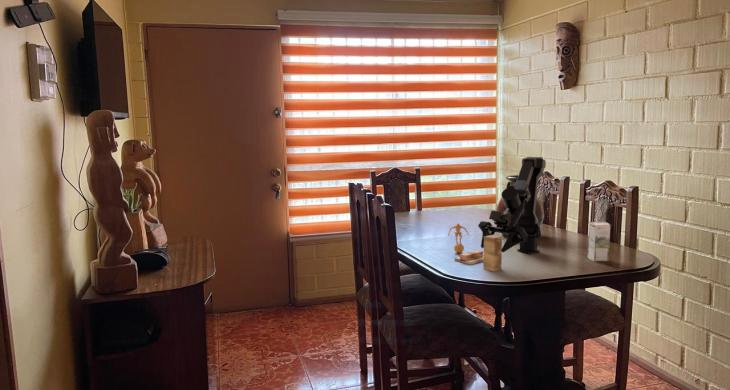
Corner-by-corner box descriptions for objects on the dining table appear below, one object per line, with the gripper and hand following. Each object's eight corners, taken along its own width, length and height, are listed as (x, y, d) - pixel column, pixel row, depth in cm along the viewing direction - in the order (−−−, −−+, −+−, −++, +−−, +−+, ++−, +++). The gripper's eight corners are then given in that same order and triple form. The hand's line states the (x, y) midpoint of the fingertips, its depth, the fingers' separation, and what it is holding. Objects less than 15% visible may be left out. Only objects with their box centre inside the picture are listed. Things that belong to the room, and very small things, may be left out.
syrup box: (601, 258, 209) (603, 221, 207) (609, 261, 203) (610, 223, 201) (587, 258, 209) (588, 221, 207) (594, 262, 203) (595, 224, 201)
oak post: (491, 266, 199) (491, 234, 198) (501, 269, 196) (501, 236, 194) (483, 268, 196) (483, 236, 195) (493, 271, 193) (493, 238, 191)
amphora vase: (553, 238, 246) (555, 177, 243) (514, 242, 238) (515, 179, 235) (523, 230, 266) (524, 173, 262) (486, 233, 258) (487, 175, 255)
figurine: (449, 254, 219) (449, 225, 218) (447, 250, 225) (447, 222, 224) (470, 253, 219) (470, 224, 218) (467, 250, 225) (467, 222, 224)
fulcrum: (475, 255, 216) (475, 248, 216) (491, 259, 210) (491, 251, 210) (454, 260, 209) (454, 253, 208) (470, 264, 203) (470, 256, 202)
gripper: (481, 199, 203) (461, 232, 198) (523, 204, 188) (503, 240, 183) (494, 218, 209) (475, 250, 203) (536, 224, 194) (516, 259, 189)
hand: (491, 249), depth 195 cm, fingers open, 9 cm apart
